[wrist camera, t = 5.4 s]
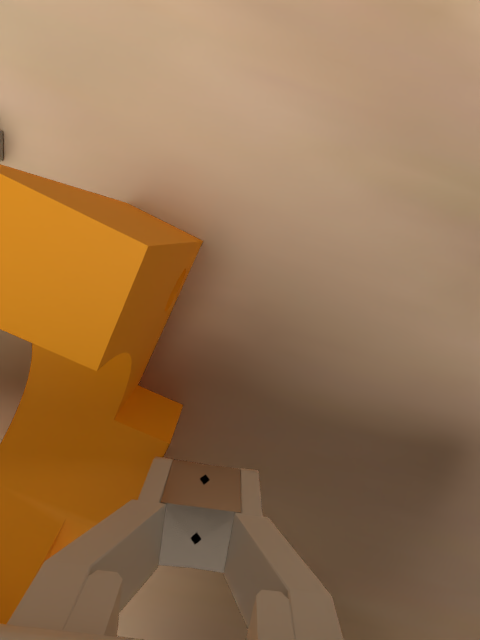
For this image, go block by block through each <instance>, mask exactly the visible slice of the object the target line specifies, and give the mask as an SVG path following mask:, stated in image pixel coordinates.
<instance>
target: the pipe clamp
mask: <svg viewBox="0 0 480 640" xmlns="http://www.w3.org/2000/svg"><path fill="white" fill-rule="evenodd" d="M202 242H203V241H202V240H200V239H198V238H196V237H194V236H192V235H190V234H188V233H186V232H184V231H182V230H180V229H178V228H176V227H174V226H172V225H170V224H168V223H166V222H164V221H162V220H160V219H158V218H156V217H154V216H152V215H150V214H148V213H146V212H144V211H142V210H140V209H138V208H136V207H134V206H132V205H130V204H128V203H125V202H122V201H119V200H115V199H112V198H109V197H106V196H102V195H99V194H96V193H92V192H89V191H86V190H83V189H79V188H76V187H73V186H69V185H66V184H63V183H60V182H56V181H53V180H50V179H47V178H43V177H40V176H37V175H33V174H30V173H27V172H24V171H20V170H17V169H14V168H10V167H7V166H4V165H1V164H0V329H1V330H3V331H6V332H8V333H10V334H12V335H15V336H17V337H19V338H22V339H24V340H26V341H29V342H31V343H32V359H31V366H30V371H29V376H28V380H27V383H26V387H25V390H24V393H23V396H22V398H21V401H20V404H19V406H18V408H17V411H16V413H15V416H14V418H13V420H12V422H11V424H10V426H9V428H8V430H7V432H6V434H5V436H4V438H3V440H2V442H1V444H0V624H7V623H8V621H9V619H10V618H11V616H12V614H13V613H14V611H15V609H16V608H17V606H18V605H19V603H20V601H21V600H22V598H23V596H24V595H25V593H26V591H27V590H28V588H29V586H30V585H31V583H32V581H33V580H34V578H35V577H36V575H37V573H38V572H39V570H40V568H41V567H42V565H43V563H44V562H45V561H46V560H47V559H49V558H50V557H51V556H53V555H54V554H56V553H57V552H59V551H60V550H61V549H63V548H64V547H66V546H67V545H68V544H70V543H71V542H73V541H74V540H75V539H77V538H78V537H80V536H81V535H83V534H84V533H85V532H87V531H88V530H90V529H91V528H92V527H94V526H95V525H97V524H98V523H99V522H101V521H102V520H104V519H105V518H107V517H108V516H109V515H111V514H112V513H114V512H115V511H116V510H118V509H119V508H121V507H122V506H123V505H125V504H126V503H128V502H129V501H130V500H132V499H133V500H138V498H139V495H140V492H141V490H142V487H143V485H144V482H145V480H146V477H147V474H148V472H149V469H150V467H151V464H152V462H153V459H154V458H155V457H156V456H157V457H163V456H164V454H165V452H166V450H167V449H168V447H169V445H170V442H171V439H172V436H173V433H174V430H175V428H176V425H177V422H178V419H179V416H180V413H181V410H182V407H183V405H182V404H180V403H177V402H175V401H173V400H170V399H168V398H166V397H164V396H161V395H159V394H157V393H154V392H152V391H150V390H148V389H145V388H143V387H141V386H138V384H139V382H140V380H141V377H142V375H143V373H144V371H145V368H146V366H147V364H148V362H149V360H150V357H151V355H152V353H153V351H154V349H155V346H156V344H157V342H158V340H159V338H160V335H161V333H162V331H163V329H164V326H165V324H166V322H167V320H168V318H169V315H170V313H171V311H172V309H173V307H174V304H175V302H176V300H177V298H178V295H179V293H180V291H181V289H182V287H183V284H184V282H185V280H186V278H187V276H188V273H189V271H190V269H191V267H192V265H193V262H194V260H195V258H196V256H197V253H198V251H199V249H200V247H201V245H202Z"/></svg>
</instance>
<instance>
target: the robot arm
mask: <svg viewBox="0 0 480 640" xmlns="http://www.w3.org/2000/svg"><path fill="white" fill-rule="evenodd" d="M158 565H165V566H176V567H188V568H195V569H202V570H208V571H215V572H221V573H224V577H225V579H226V582H227V584H228V586H229V588H230V590H231V593H232V595H233V597H234V599H235V602H236V604H237V606H238V608H239V610H240V613H241V615H242V617H243V619H244V622H245V624H246V626H247V628H248V634H247V638H246V640H344V639H343V636H342V632H341V628H340V624H339V620H338V617H337V613H336V609H335V605H334V601H333V597H332V596H331V594H330V593H329V592H328V591H327V589H326V588H325V587H324V586H323V584H322V583H321V582H320V581H319V579H318V578H317V577H316V576H315V574H314V573H313V572H312V571H311V570H310V568H309V567H308V566H307V565H306V563H305V562H304V561H303V560H302V558H301V557H300V556H299V555H298V553H297V552H296V551H295V550H294V548H293V547H292V546H291V545H290V543H289V542H288V541H287V540H286V538H285V537H284V536H283V535H282V533H281V532H280V531H279V530H278V529H277V527H276V526H275V525H274V524H273V522H272V521H271V520H270V519H269V517H264V516H263V512H262V501H261V490H260V479H259V472H258V470H253V469H244V468H240V469H238V468H231V467H223V466H215V465H208V464H203V463H196V462H190V461H184V460H178V459H170V458H163V457H157V456H156V457H155V458H154V459H153V462H152V464H151V467H150V469H149V472H148V474H147V477H146V480H145V482H144V485H143V487H142V490H141V492H140V495H139V498H138V500H133V499H132V500H130V501H129V502H128V503H126V504H125V505H123V506H122V507H121V508H119V509H118V510H116V511H115V512H114V513H112V514H111V515H109V516H108V517H107V518H105V519H104V520H102V521H101V522H99V523H98V524H97V525H95V526H94V527H92V528H91V529H90V530H88V531H87V532H85V533H84V534H83V535H81V536H80V537H78V538H77V539H75V540H74V541H73V542H71V543H70V544H68V545H67V546H66V547H64V548H63V549H61V550H60V551H59V552H57V553H56V554H54V555H53V556H51V557H50V558H49V559H47V560H46V561H45V562H44V563H43V565H42V567H41V568H40V570H39V572H38V573H37V575H36V577H35V578H34V580H33V581H32V583H31V585H30V586H29V588H28V590H27V591H26V593H25V595H24V596H23V598H22V600H21V601H20V603H19V605H18V606H17V608H16V609H15V611H14V613H13V614H12V616H11V618H10V619H9V621H8V623H7V624H0V640H143V639H134V638H125V637H117V630H118V620H119V613H120V611H121V610H122V609H123V608H124V607H125V606H126V604H127V603H128V602H129V601H130V600H131V598H132V597H133V596H134V595H135V594H136V593H137V591H138V590H139V589H140V588H141V587H142V585H143V584H144V583H145V582H146V581H147V580H148V578H149V577H150V576H151V575H152V574H153V572H154V571H155V570H156V569H157V568H158Z"/></svg>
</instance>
